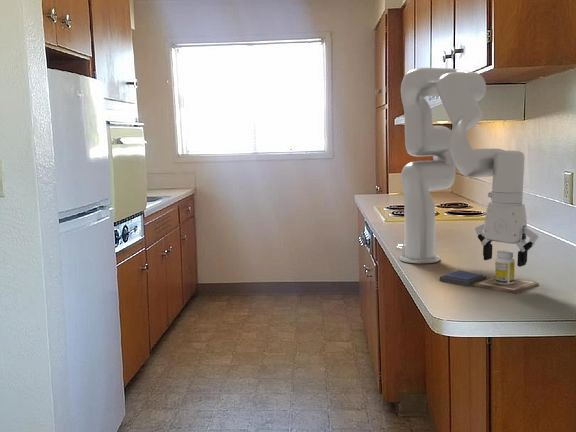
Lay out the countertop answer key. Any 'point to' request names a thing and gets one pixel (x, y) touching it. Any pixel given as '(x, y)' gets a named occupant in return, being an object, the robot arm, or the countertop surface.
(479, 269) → the countertop surface
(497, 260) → the supplement bottle
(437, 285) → the countertop surface
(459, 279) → the ink pad
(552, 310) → the countertop surface
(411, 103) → the robot arm
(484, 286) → the marked board
